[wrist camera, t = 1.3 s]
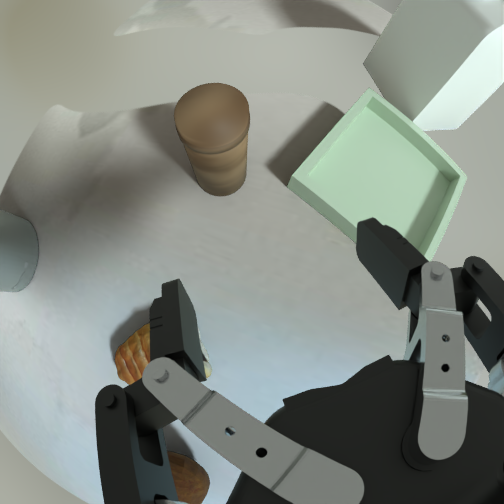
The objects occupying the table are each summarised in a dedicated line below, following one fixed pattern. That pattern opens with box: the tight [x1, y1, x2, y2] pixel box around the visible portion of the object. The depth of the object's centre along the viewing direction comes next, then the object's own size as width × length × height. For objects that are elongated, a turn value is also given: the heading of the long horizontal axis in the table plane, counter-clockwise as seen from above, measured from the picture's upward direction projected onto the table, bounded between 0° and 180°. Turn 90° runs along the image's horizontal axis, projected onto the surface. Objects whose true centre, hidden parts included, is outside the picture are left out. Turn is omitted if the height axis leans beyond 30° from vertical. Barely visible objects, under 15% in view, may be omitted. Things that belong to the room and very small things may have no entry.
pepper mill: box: [174, 83, 250, 196], centre depth 22 cm, size 5×5×11 cm
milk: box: [363, 0, 504, 131], centre depth 18 cm, size 12×12×26 cm
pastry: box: [115, 323, 212, 385], centre depth 24 cm, size 9×7×4 cm
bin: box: [287, 88, 467, 262], centre depth 27 cm, size 16×16×3 cm
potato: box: [167, 451, 210, 504], centre depth 20 cm, size 7×10×8 cm
